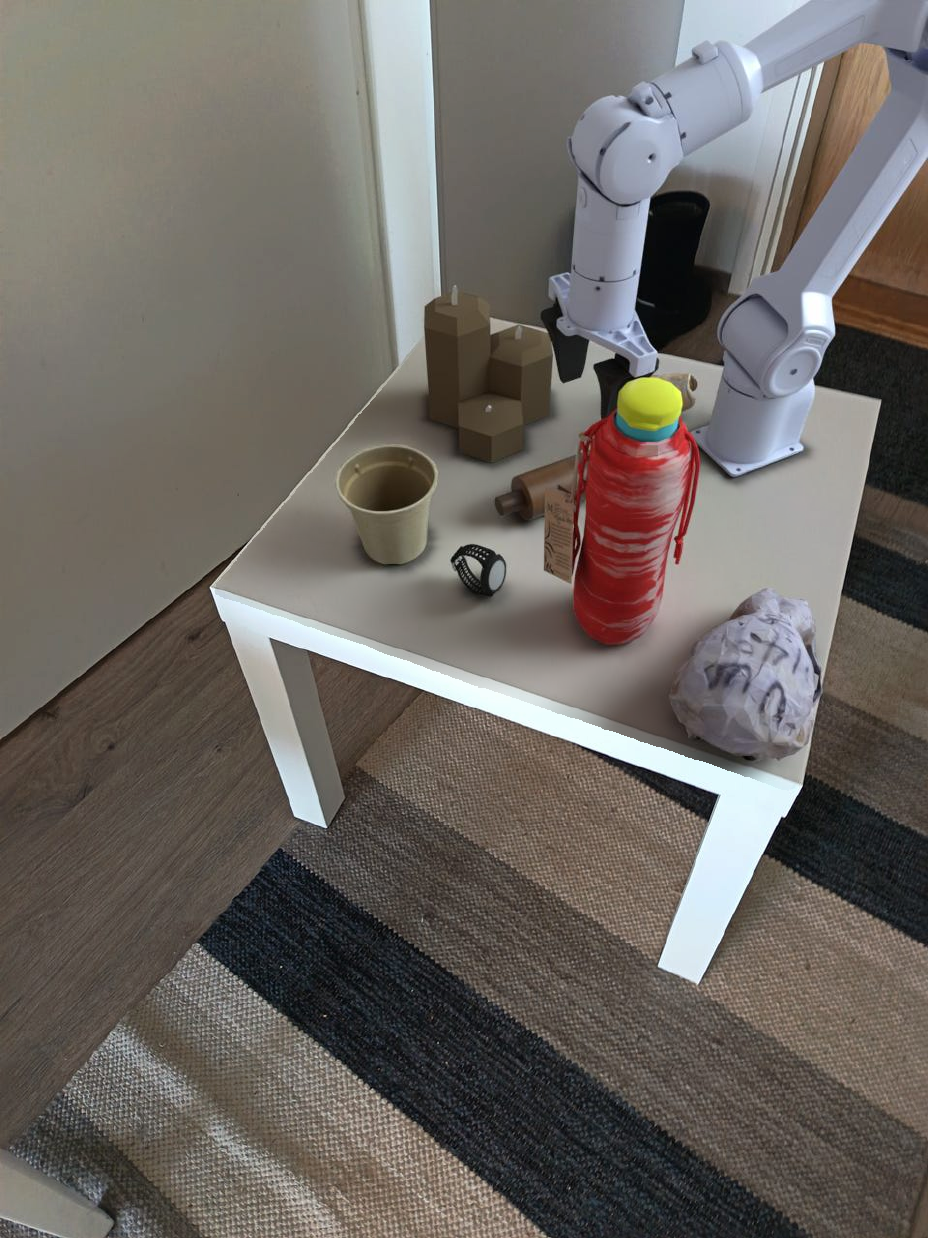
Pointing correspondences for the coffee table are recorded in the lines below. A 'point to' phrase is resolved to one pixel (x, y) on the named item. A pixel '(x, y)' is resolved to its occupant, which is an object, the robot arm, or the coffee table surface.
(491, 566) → the smartwatch
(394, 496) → the flower pot
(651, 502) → the water bottle
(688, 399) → the shell
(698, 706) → the scribbled crumpled paper bundle
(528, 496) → the rolling pin
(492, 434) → the candle
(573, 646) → the coffee table surface
